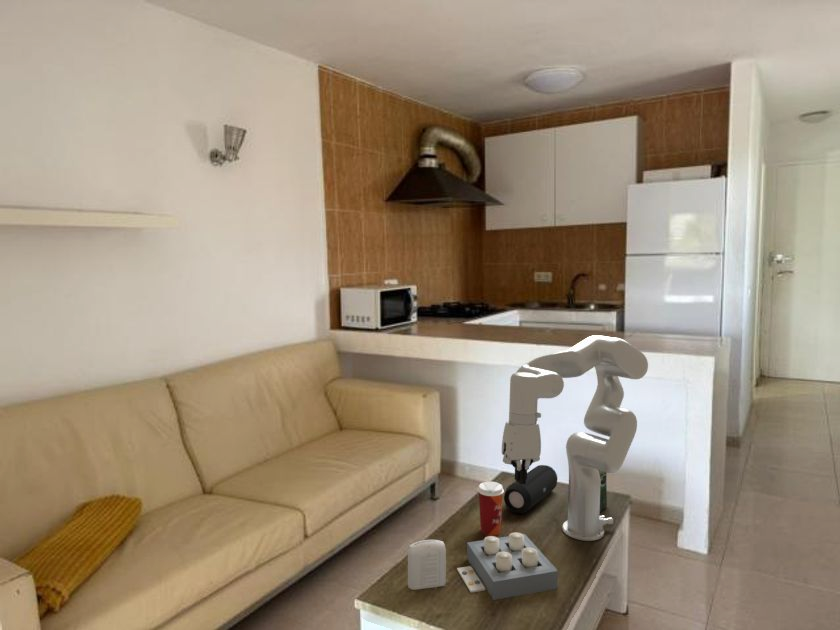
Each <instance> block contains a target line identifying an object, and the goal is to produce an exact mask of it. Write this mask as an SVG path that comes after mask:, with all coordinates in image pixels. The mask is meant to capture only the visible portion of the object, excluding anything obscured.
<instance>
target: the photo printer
mask: <svg viewBox="0 0 840 630" xmlns="http://www.w3.org/2000/svg"><path fill="white" fill-rule="evenodd" d="M446 553H447V550H446V545H445V543H444V541H442V540H438V539H424V540H419V541H416V542H413V543H412V544H411V543H410V544H409V545H408V551H407V587H408V589H410V590H414V591H418V590H423V589H424V590H425V589H431V588H433V589H434V588H440V587H444V586H445V585H446V578H447V577H446V573H447V571H446V569H447V567H446V566H447V564H446V563H447V562H446V561H447V558H446V557H447V554H446Z"/></svg>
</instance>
